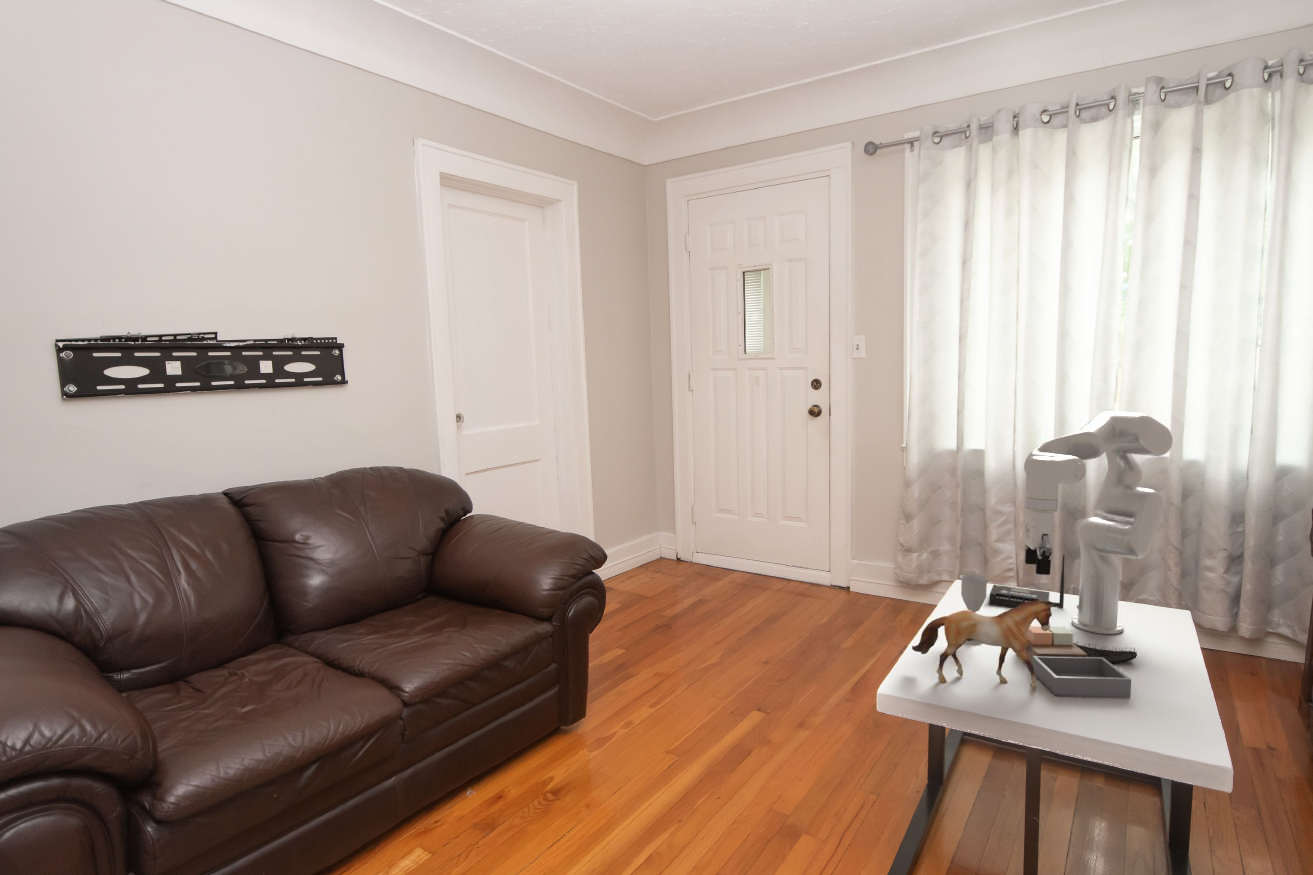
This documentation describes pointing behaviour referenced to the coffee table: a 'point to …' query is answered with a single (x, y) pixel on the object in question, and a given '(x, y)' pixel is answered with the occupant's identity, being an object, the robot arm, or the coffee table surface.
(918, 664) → the coffee table surface
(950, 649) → the horse figurine
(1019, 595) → the wireless router
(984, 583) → the chalice
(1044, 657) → the box
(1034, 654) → the brown square platform
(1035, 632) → the peach cube block
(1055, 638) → the pale green cube
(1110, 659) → the hairbrush
